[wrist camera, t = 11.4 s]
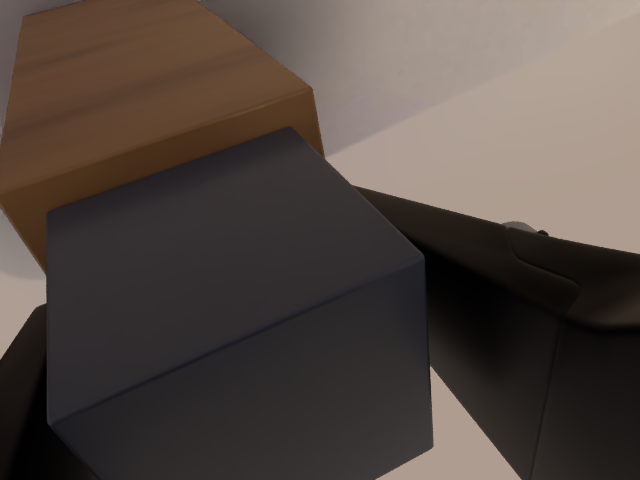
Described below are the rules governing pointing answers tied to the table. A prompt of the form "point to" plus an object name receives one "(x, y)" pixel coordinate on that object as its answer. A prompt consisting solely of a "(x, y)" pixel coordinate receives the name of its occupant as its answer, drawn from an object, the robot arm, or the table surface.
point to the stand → (132, 102)
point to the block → (237, 324)
